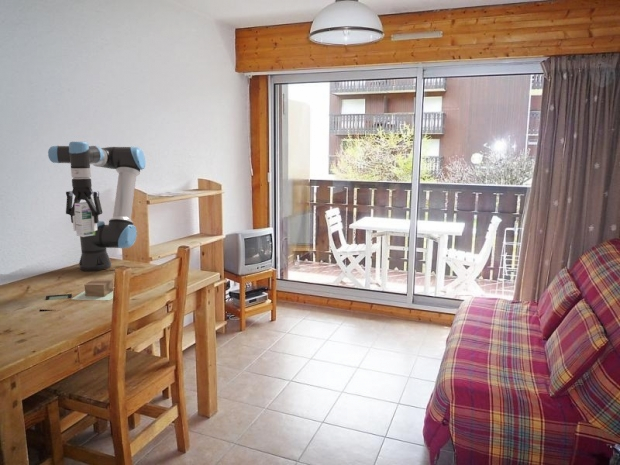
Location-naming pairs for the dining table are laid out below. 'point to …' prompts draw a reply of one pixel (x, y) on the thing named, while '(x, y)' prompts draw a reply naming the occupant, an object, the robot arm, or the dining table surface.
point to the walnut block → (99, 287)
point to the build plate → (83, 297)
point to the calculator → (53, 297)
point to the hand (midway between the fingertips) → (85, 230)
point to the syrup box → (83, 220)
